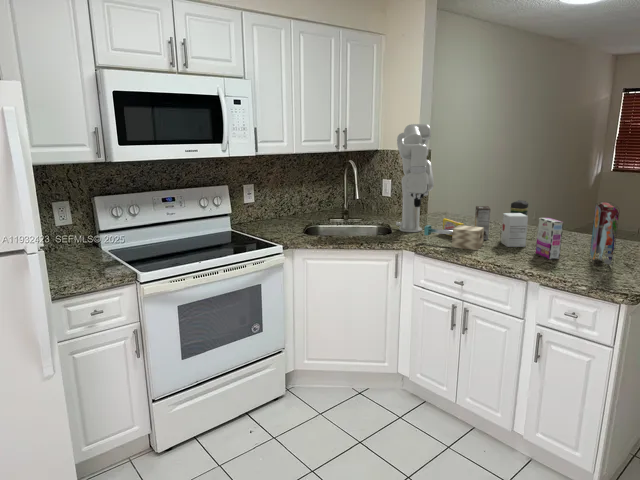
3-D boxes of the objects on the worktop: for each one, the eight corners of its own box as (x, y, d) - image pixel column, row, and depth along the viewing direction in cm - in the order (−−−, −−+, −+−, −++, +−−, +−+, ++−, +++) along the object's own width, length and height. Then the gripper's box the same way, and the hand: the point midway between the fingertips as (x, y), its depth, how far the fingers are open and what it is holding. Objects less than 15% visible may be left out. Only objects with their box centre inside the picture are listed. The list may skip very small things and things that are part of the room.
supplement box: (500, 242, 225) (502, 212, 221) (518, 242, 224) (520, 212, 221) (506, 247, 216) (509, 216, 212) (526, 246, 215) (528, 215, 212)
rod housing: (451, 247, 217) (452, 228, 215) (458, 242, 225) (458, 225, 223) (477, 250, 211) (478, 231, 209) (482, 245, 219) (484, 227, 217)
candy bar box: (560, 259, 193) (564, 221, 190) (549, 259, 193) (553, 222, 189) (545, 252, 204) (549, 217, 201) (534, 253, 204) (538, 217, 200)
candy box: (442, 233, 248) (442, 218, 246) (445, 233, 248) (446, 218, 247) (460, 239, 233) (461, 223, 231) (463, 239, 234) (464, 223, 232)
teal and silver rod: (424, 235, 227) (424, 226, 226) (427, 233, 230) (427, 224, 229) (460, 238, 217) (460, 229, 216) (462, 237, 221) (463, 228, 220)
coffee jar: (522, 238, 233) (525, 202, 229) (506, 236, 238) (509, 201, 233) (527, 234, 240) (530, 200, 236) (511, 232, 245) (514, 198, 241)
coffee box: (473, 235, 241) (475, 205, 237) (486, 235, 239) (488, 205, 236) (475, 239, 232) (477, 208, 228) (488, 239, 231) (491, 208, 227)
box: (586, 252, 203) (593, 198, 197) (602, 254, 200) (609, 199, 195) (594, 268, 181) (601, 207, 175) (612, 269, 178) (620, 208, 173)
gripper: (401, 170, 225) (400, 206, 229) (430, 170, 217) (429, 208, 221) (407, 169, 231) (406, 205, 235) (435, 169, 223) (434, 206, 227)
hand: (417, 206), depth 228 cm, fingers closed
